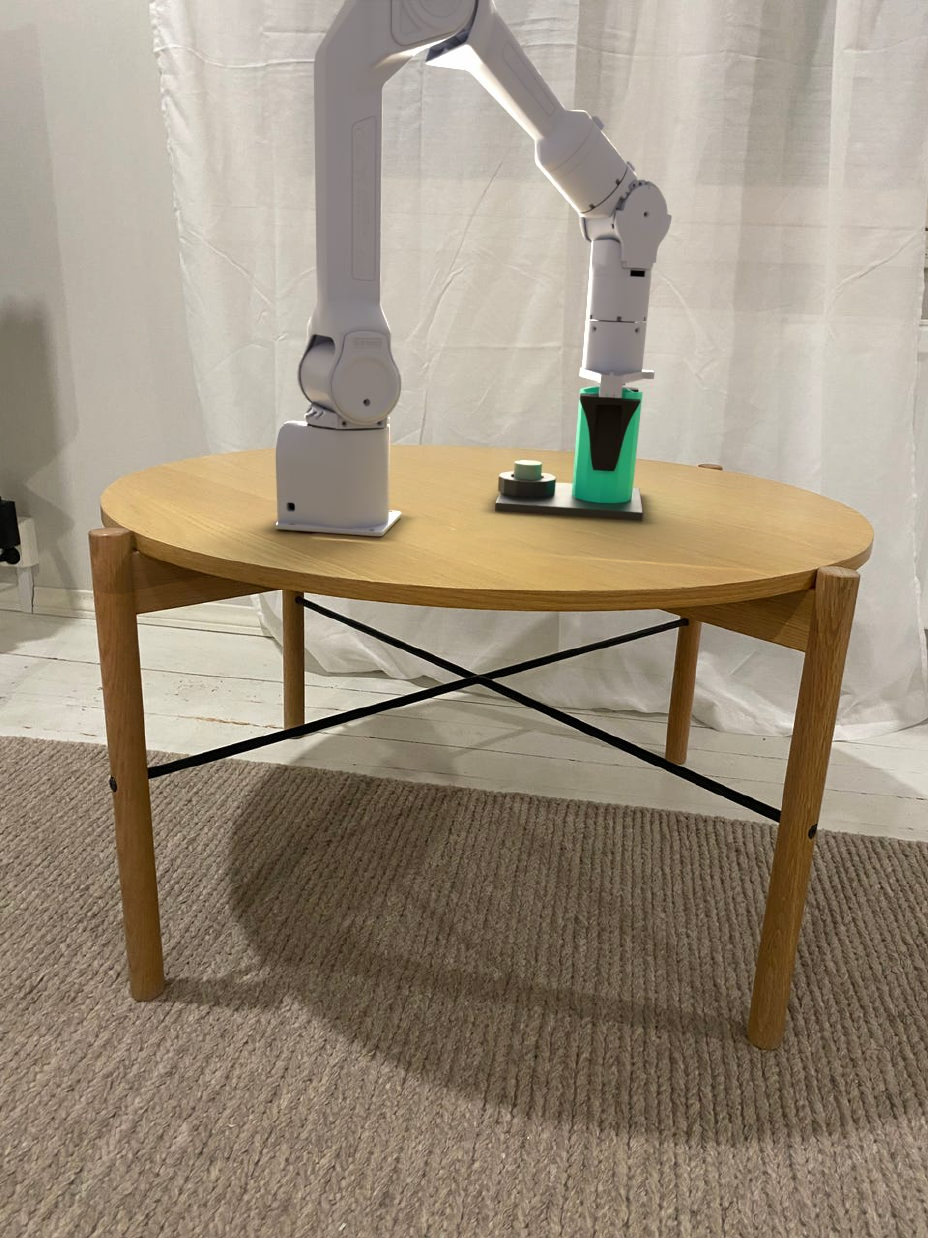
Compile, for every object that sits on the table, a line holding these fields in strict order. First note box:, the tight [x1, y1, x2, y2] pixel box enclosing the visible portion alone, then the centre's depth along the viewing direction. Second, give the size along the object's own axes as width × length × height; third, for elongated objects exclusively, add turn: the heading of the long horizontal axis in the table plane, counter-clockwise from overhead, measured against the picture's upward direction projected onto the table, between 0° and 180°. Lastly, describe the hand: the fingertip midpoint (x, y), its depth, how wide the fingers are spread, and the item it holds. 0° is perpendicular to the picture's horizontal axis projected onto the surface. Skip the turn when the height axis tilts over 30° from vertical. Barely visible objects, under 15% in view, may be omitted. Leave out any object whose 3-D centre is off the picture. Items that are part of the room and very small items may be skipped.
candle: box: [572, 386, 643, 503], centre depth 90 cm, size 6×6×12 cm
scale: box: [494, 470, 644, 522], centre depth 93 cm, size 14×12×2 cm
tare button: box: [513, 459, 543, 480], centre depth 93 cm, size 3×3×2 cm
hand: (603, 464), depth 91 cm, fingers closed on candle, 5 cm apart
